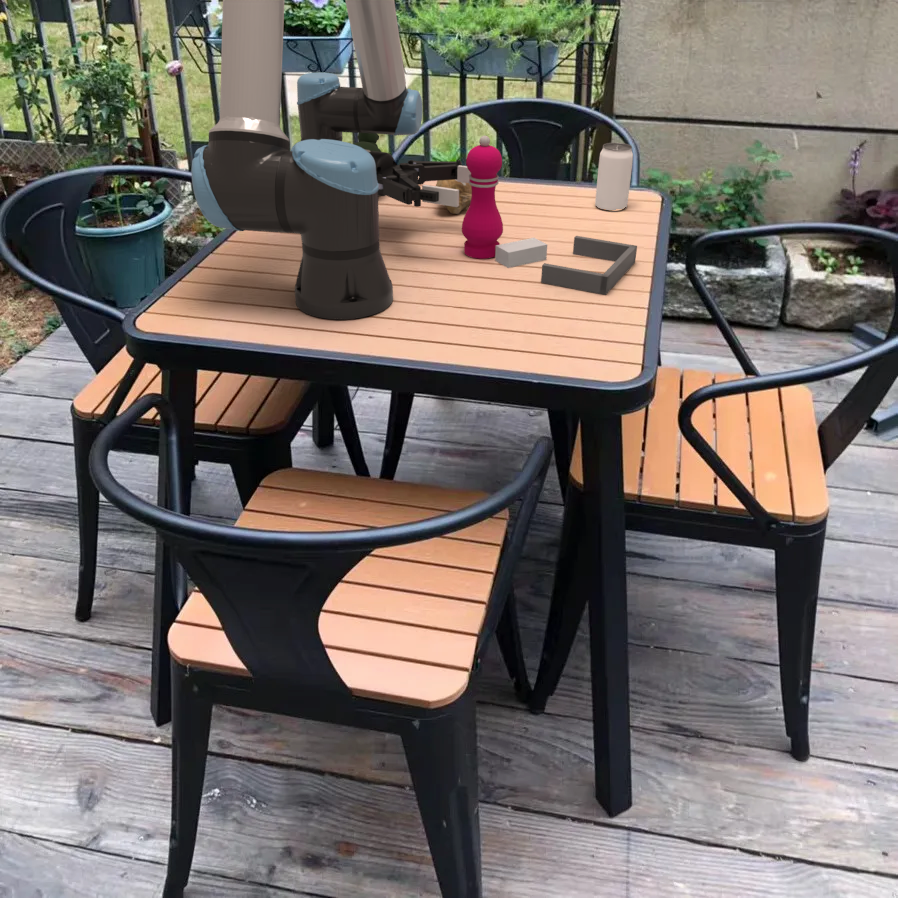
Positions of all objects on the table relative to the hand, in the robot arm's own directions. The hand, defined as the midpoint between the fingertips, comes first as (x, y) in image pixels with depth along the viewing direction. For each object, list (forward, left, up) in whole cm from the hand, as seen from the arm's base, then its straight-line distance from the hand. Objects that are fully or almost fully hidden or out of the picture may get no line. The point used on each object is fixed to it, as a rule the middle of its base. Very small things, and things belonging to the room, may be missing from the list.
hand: (475, 187), depth 148 cm
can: (+35, -14, -11) cm, 39 cm away
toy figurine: (+22, +36, -11) cm, 44 cm away
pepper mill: (-1, -2, -11) cm, 11 cm away
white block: (-1, -9, -11) cm, 15 cm away
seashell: (+20, +14, -11) cm, 27 cm away
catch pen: (-1, -22, -11) cm, 24 cm away
